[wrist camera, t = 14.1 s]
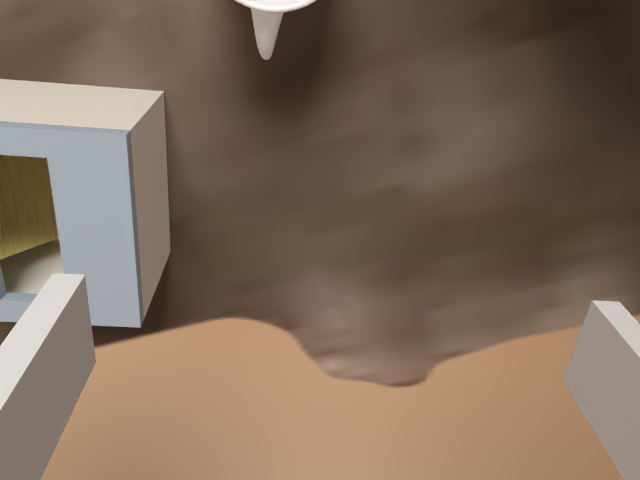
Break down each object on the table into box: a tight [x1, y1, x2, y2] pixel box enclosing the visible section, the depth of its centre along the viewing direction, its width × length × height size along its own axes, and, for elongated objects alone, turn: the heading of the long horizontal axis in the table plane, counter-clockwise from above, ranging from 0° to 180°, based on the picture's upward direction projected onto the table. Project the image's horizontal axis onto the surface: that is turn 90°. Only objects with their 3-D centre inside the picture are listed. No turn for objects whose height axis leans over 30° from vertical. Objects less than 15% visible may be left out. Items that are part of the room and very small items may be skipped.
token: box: [0, 155, 59, 259], centre depth 41 cm, size 8×2×8 cm
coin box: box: [0, 79, 171, 328], centre depth 41 cm, size 14×14×11 cm
